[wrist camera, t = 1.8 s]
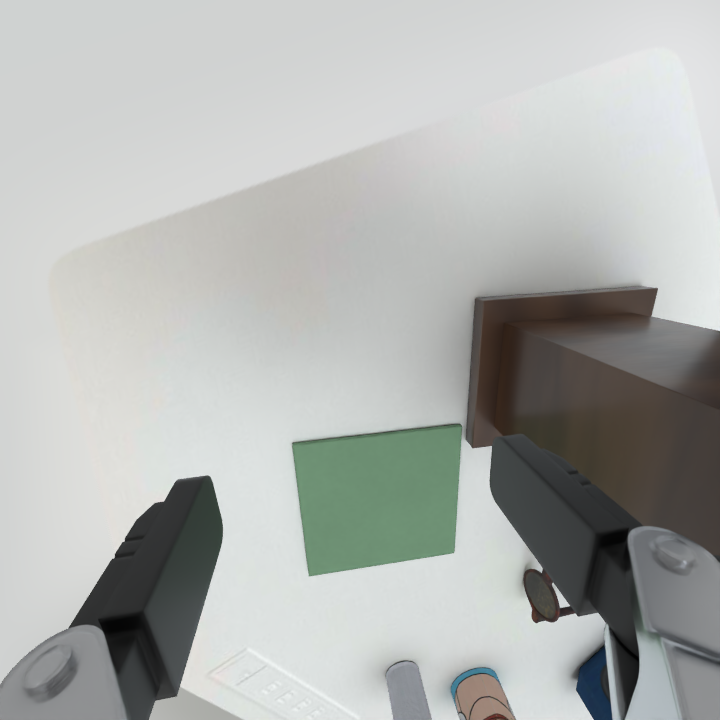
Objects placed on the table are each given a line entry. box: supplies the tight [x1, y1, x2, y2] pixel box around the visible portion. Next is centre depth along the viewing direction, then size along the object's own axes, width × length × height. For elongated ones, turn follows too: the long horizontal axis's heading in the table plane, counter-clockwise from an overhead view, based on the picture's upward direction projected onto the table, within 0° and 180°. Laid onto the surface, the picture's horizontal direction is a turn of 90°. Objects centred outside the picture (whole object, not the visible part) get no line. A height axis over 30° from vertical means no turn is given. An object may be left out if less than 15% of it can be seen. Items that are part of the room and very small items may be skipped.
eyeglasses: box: [524, 569, 575, 623], centre depth 38 cm, size 15×15×5 cm
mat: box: [293, 424, 462, 576], centre depth 34 cm, size 16×16×1 cm
